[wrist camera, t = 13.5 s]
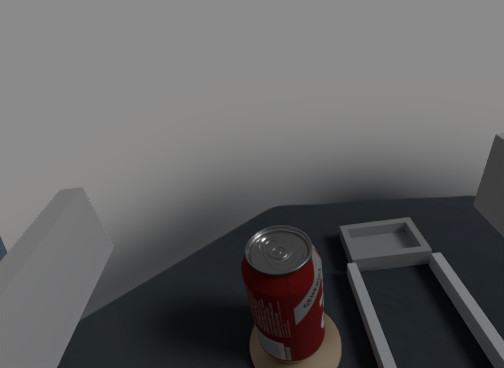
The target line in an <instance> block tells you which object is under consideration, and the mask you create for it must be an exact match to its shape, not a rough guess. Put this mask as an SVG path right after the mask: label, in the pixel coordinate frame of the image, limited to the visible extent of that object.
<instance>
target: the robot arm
mask: <svg viewBox="0 0 504 368" xmlns="http://www.w3.org/2000/svg"><path fill="white" fill-rule="evenodd" d="M473 206H474V207H475V208H476V209H477V210H478V211H479V212H480V213H481V214H482V215H483V216H484V217H485V218H486V219H487V220H488V221H489V222H490V223H491V224H492V225H493V226H494V227H495V228H496V229H497V230H498V231H499V232H500V234H501V235H502V236H503V237H504V133H502V134H496V135H495V139H494V142H493V145H492V148H491V151H490V154H489V157H488V160H487V164H486V167H485V170H484V173H483V176H482V179H481V182H480V185H479V188H478V192H477V195H476V198H475V201H474V204H473ZM113 248H114V246H113V244H112V242H111V241H110V239H109V237H108V235H107V233H106V231H105V229H104V227H103V225H102V223H101V221H100V220H99V218H98V216H97V214H96V212H95V210H94V208H93V207H92V205H91V203H90V201H89V199H88V197H87V195H86V193H85V191H84V189H83V188H82V187H80V188H73V189H64V190H60V191H59V192H58V193H57V194H56V196H55V197H54V198H53V199H52V200H51V201H50V203H49V204H48V205H47V206H46V208H45V209H44V210H43V211H42V212H41V213H40V215H39V216H38V217H37V218H36V220H35V221H34V222H33V223H32V224H31V225H30V227H29V228H28V229H27V230H26V231H25V233H24V234H23V235H22V236H21V237H20V239H19V240H18V241H17V242H16V243H15V244H14V246H13V247H12V248H11V249H10V250H9V252H8V253H7V251H6V249H5V246H4V244H3V241H2V239H1V237H0V368H57V366H58V364H59V362H60V360H61V358H62V355H63V353H64V351H65V349H66V347H67V345H68V343H69V341H70V339H71V336H72V334H73V332H74V330H75V328H76V326H77V324H78V322H79V319H80V317H81V315H82V313H83V311H84V309H85V307H86V305H87V303H88V300H89V298H90V296H91V294H92V292H93V290H94V288H95V286H96V283H97V281H98V279H99V277H100V275H101V273H102V271H103V269H104V267H105V264H106V262H107V260H108V258H109V256H110V254H111V252H112V250H113Z"/></svg>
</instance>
